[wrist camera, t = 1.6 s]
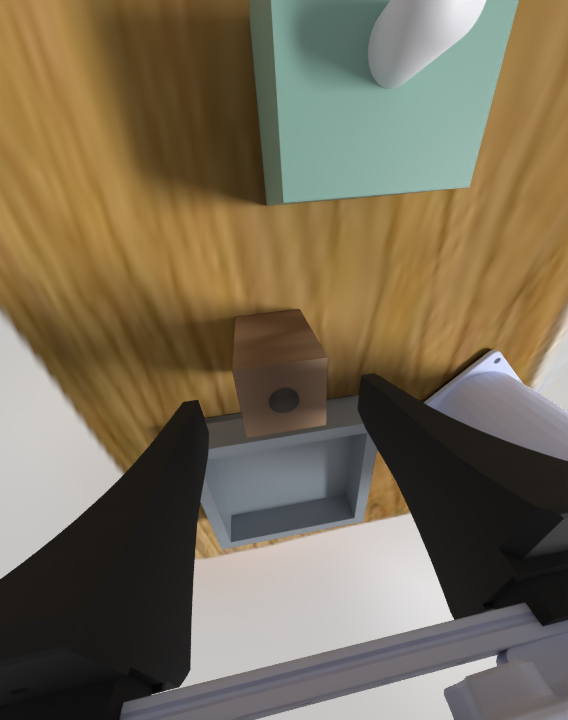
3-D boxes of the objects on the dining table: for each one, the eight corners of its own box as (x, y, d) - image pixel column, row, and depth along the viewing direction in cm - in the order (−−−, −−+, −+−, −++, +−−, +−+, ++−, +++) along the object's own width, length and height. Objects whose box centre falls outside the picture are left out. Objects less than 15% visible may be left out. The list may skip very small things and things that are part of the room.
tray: (364, 393, 20) (382, 420, 17) (352, 492, 27) (363, 521, 25) (187, 421, 19) (178, 454, 16) (224, 516, 26) (222, 549, 24)
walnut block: (299, 308, 16) (327, 358, 10) (302, 362, 18) (326, 425, 12) (235, 316, 15) (232, 371, 10) (245, 370, 17) (247, 438, 12)
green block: (400, 15, 10) (749, -415, 3) (380, 196, 13) (530, 181, 6) (249, 18, 9) (268, -490, 3) (266, 205, 12) (295, 200, 6)
